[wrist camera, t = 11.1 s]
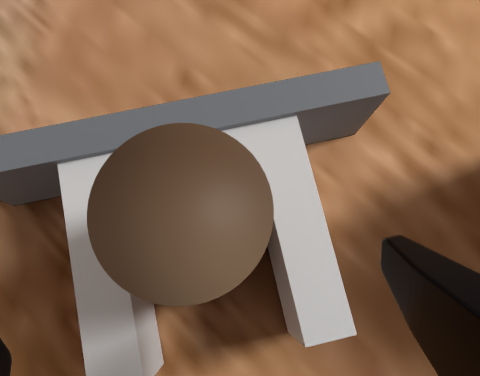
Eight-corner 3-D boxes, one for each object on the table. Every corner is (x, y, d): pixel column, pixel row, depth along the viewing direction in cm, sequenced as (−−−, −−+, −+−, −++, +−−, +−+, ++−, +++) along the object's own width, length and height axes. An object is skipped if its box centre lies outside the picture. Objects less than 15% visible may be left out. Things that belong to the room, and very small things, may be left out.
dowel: (236, 303, 20) (251, 326, 8) (156, 283, 20) (61, 280, 8) (254, 223, 21) (290, 144, 9) (178, 205, 21) (118, 105, 9)
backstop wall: (354, 134, 22) (390, 92, 17) (14, 205, 21) (-52, 182, 16) (346, 109, 22) (379, 61, 18) (10, 177, 21) (-55, 146, 16)
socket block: (328, 323, 20) (356, 334, 15) (121, 374, 19) (89, 401, 15) (282, 148, 22) (296, 115, 17) (92, 188, 21) (57, 163, 17)
